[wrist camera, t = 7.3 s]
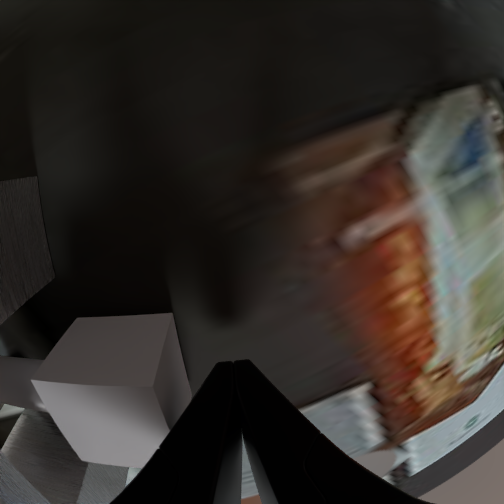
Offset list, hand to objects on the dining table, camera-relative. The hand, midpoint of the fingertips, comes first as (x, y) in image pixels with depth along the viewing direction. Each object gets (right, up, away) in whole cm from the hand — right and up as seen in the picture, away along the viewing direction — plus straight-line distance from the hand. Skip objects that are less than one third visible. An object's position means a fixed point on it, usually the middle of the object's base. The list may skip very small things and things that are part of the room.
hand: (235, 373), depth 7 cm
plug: (-9, -1, 0) cm, 10 cm away
